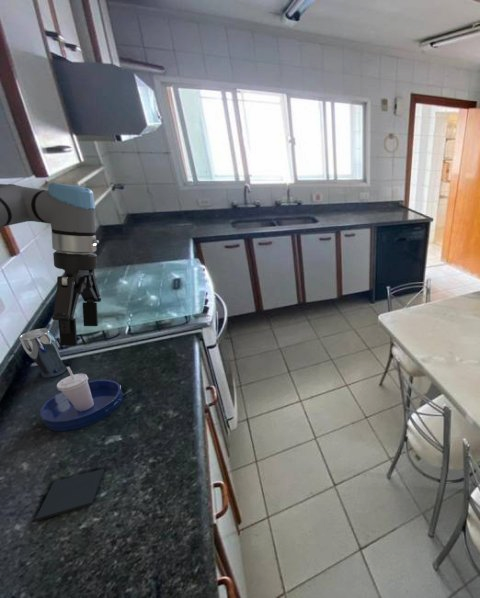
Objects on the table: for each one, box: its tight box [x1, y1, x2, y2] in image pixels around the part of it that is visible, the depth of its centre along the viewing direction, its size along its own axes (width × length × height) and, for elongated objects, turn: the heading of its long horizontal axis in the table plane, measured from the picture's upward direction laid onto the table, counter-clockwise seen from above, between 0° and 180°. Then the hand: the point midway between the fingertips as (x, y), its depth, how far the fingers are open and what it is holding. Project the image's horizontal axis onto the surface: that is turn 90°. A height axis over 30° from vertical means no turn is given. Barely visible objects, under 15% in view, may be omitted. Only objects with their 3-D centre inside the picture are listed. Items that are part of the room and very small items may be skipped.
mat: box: [35, 468, 105, 522], centre depth 73 cm, size 9×9×1 cm
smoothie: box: [56, 366, 94, 411], centre depth 93 cm, size 6×6×14 cm
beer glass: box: [18, 327, 68, 379], centre depth 105 cm, size 7×7×15 cm
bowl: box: [39, 379, 124, 432], centre depth 95 cm, size 17×17×4 cm
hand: (80, 334), depth 83 cm, fingers open, 13 cm apart
